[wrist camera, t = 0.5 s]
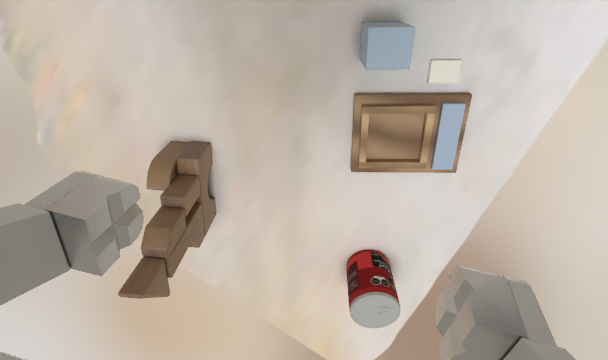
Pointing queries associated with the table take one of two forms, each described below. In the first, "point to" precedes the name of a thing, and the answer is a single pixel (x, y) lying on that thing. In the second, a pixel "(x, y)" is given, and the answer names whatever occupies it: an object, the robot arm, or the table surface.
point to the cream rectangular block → (444, 71)
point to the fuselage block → (386, 45)
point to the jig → (399, 131)
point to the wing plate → (447, 135)
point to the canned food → (371, 290)
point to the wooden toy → (173, 216)
